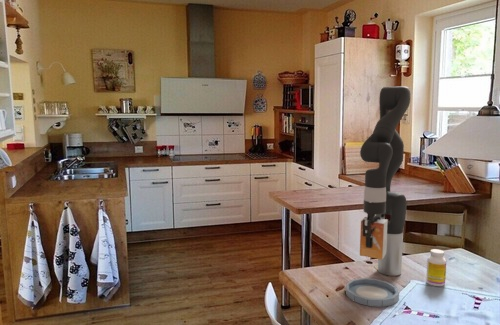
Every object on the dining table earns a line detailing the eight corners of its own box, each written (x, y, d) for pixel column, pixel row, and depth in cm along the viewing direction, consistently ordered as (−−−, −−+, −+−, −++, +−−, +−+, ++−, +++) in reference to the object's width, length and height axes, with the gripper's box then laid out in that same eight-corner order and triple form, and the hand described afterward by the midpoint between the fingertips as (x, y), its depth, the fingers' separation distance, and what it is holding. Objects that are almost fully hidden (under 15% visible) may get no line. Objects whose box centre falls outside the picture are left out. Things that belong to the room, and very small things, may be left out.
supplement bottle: (447, 287, 153) (449, 254, 151) (428, 286, 154) (430, 253, 153) (442, 280, 159) (444, 248, 158) (424, 279, 161) (426, 247, 159)
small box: (359, 256, 145) (360, 220, 143) (363, 250, 150) (364, 216, 149) (382, 260, 141) (384, 223, 139) (386, 254, 146) (387, 219, 145)
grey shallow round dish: (359, 280, 160) (359, 274, 159) (405, 293, 148) (405, 286, 148) (337, 296, 146) (337, 290, 146) (386, 312, 135) (386, 305, 134)
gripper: (372, 194, 151) (371, 237, 153) (355, 201, 140) (354, 247, 142) (393, 197, 146) (391, 241, 148) (376, 204, 135) (375, 252, 137)
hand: (373, 244), depth 145 cm, fingers closed on small box, 7 cm apart
